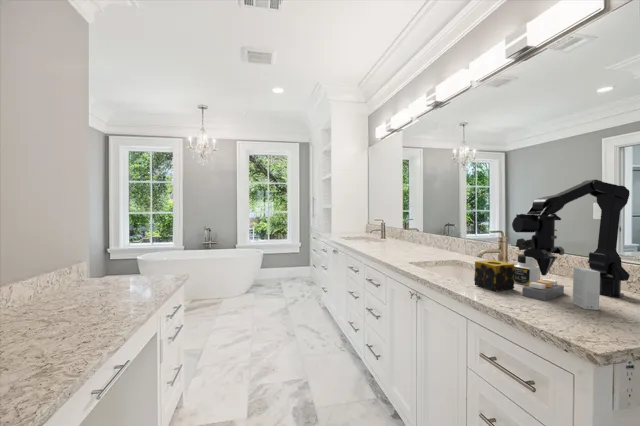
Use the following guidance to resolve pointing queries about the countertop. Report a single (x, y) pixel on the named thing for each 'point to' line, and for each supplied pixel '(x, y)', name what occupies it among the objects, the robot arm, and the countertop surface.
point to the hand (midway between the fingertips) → (543, 275)
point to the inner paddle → (550, 281)
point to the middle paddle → (548, 284)
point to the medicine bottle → (526, 270)
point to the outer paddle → (537, 285)
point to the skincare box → (586, 288)
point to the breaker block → (543, 292)
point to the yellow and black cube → (494, 275)
